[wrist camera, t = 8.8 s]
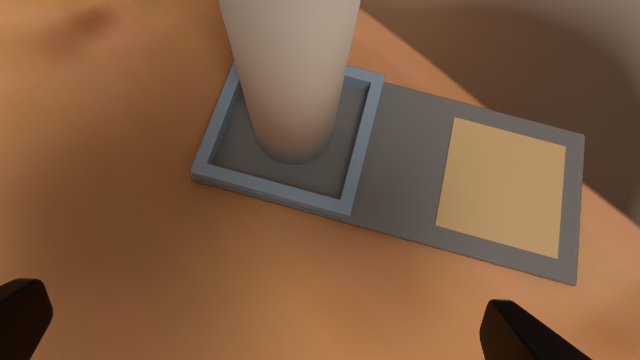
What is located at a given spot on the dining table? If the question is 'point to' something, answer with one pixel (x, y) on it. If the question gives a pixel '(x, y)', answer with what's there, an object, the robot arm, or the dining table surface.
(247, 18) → the white grey banded cylinder
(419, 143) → the grey rectangular board
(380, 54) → the dining table surface
